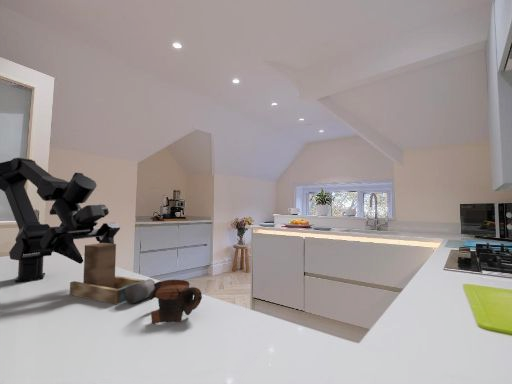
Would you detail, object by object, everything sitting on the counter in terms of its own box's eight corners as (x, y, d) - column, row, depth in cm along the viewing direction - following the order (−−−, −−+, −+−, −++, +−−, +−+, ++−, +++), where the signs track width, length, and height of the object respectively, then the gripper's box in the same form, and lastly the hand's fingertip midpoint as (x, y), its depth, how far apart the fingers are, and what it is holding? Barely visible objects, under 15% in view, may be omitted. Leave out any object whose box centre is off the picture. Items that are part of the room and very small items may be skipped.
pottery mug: (135, 326, 52) (140, 282, 57) (164, 329, 60) (167, 291, 64) (191, 316, 49) (192, 271, 54) (214, 321, 57) (213, 281, 62)
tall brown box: (83, 293, 69) (84, 245, 70) (101, 287, 74) (102, 242, 74) (96, 296, 67) (98, 246, 68) (114, 290, 72) (116, 244, 72)
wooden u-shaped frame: (69, 294, 68) (70, 278, 68) (102, 284, 76) (102, 270, 76) (131, 307, 60) (132, 288, 60) (160, 294, 68) (161, 278, 69)
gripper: (49, 193, 65) (79, 242, 60) (116, 195, 82) (143, 234, 78) (27, 225, 68) (55, 275, 63) (97, 221, 85) (122, 260, 80)
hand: (99, 258), depth 71 cm, fingers open, 9 cm apart
